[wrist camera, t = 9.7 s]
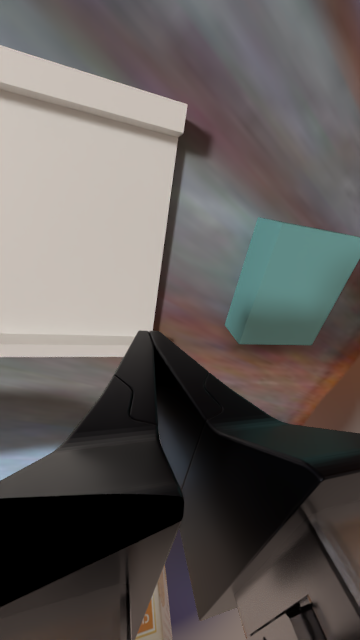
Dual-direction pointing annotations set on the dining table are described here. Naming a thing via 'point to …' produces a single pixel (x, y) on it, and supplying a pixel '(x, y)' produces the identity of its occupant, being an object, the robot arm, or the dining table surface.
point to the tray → (80, 208)
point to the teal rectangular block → (289, 283)
